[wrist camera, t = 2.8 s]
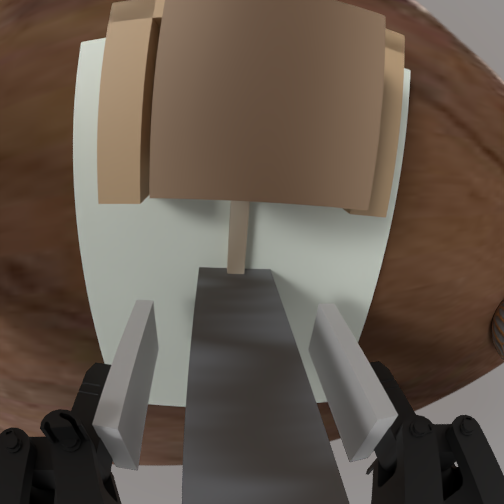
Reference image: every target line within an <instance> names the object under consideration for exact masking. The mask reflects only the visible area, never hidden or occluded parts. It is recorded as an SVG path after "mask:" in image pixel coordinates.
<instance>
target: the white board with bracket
mask: <svg viewBox="0 0 504 504" xmlns="http://www.w3.org/2000/svg"><path fill="white" fill-rule="evenodd" d="M164 3H165V0H131V1H124V2H117V3H112V8H111V13H110V18H109V23H108V29H107V34H106V38H103V39H96V40H91V41H85V42H81V48H80V54H79V62H78V70H77V79H76V90H75V103H74V123H73V173H74V193H75V207H76V218H77V228H78V237H79V245H80V252H81V259H82V266H83V272H84V278H85V283H86V288H87V294H88V299H89V303H90V308H91V313H92V317H93V321H94V326H95V330H96V334H97V338H98V341H99V345H100V349H101V352H102V356H103V359H104V363H105V364H109V365H112V362H113V359H114V357H115V354H116V351H117V348H118V346H119V343H120V340H121V338H122V335H123V332H124V330H125V327H126V325H127V322H128V320H129V317H130V315H131V312H132V310H133V307H134V305H135V302H136V300H151V301H154V311H155V321H156V329H157V338H158V345H159V351H158V356H157V360H156V365H155V370H154V375H153V380H152V385H151V391H150V396H149V402H148V404H153V405H165V406H180V407H186V396H187V382H188V369H189V357H190V346H191V336H192V326H193V316H194V307H195V298H196V289H197V280H198V272H199V267H211V268H227V255H228V237H229V219H230V203H231V201H229V200H203V199H164V198H150V192H149V180H150V136H151V117H152V101H153V89H154V78H155V68H156V59H157V50H158V42H159V35H160V28H161V21H162V15H163V9H164ZM409 90H410V70H408V69H405V68H404V35H401V34H399V33H396V32H394V31H391V30H388V29H385V67H384V86H383V100H382V112H381V122H380V132H379V140H378V149H377V156H376V164H375V171H374V177H373V184H372V190H371V196H370V202H369V208H368V211H367V210H357V209H346V208H335V207H324V206H311V205H298V204H283V203H267V202H250V206H249V219H248V231H247V244H246V257H245V269H271V272H272V275H273V278H274V281H275V284H276V286H277V289H278V292H279V295H280V298H281V301H282V304H283V307H284V309H285V312H286V315H287V318H288V321H289V324H290V327H291V330H292V333H293V336H294V338H295V341H296V344H297V347H298V350H299V353H300V356H301V359H302V362H303V365H304V368H305V371H306V374H307V377H308V380H309V382H310V385H311V388H312V391H313V394H314V397H315V400H316V403H321V402H327V399H326V396H325V393H324V391H323V388H322V385H321V383H320V380H319V377H318V375H317V372H316V369H315V367H314V364H313V361H312V359H311V356H310V353H309V351H308V348H309V344H310V340H311V336H312V332H313V327H314V323H315V319H316V314H317V310H318V305H319V304H332V303H334V304H335V305H336V307H337V309H338V310H339V312H340V314H341V315H342V317H343V319H344V320H345V322H346V324H347V325H348V327H349V329H350V330H351V332H352V334H353V336H354V337H355V339H356V341H357V342H358V341H359V338H360V335H361V332H362V329H363V326H364V323H365V320H366V317H367V314H368V311H369V307H370V304H371V301H372V297H373V294H374V290H375V287H376V283H377V280H378V276H379V272H380V269H381V265H382V261H383V257H384V253H385V249H386V244H387V240H388V236H389V231H390V227H391V222H392V217H393V212H394V207H395V202H396V196H397V191H398V185H399V179H400V173H401V166H402V159H403V152H404V144H405V136H406V127H407V116H408V105H409Z"/></svg>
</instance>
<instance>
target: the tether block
mask: <svg viewBox="0 0 504 504" xmlns="http://www.w3.org/2000/svg"><path fill="white" fill-rule="evenodd" d="M384 67H385V16H384V15H381V14H378V13H375V12H372V11H369V10H366V9H363V8H360V7H357V6H353V5H350V4H346V3H343V2H339V1H335V0H165V3H164V9H163V15H162V21H161V28H160V35H159V42H158V50H157V59H156V68H155V78H154V89H153V101H152V117H151V136H150V180H149V192H150V198H164V199H203V200H229V201H231V203H230V219H229V237H228V255H227V268H211V267H199V272H198V280H197V289H196V298H195V307H194V316H193V326H192V336H191V346H190V357H189V369H188V382H187V396H186V411H185V428H184V448H183V478H182V504H349V501H348V498H347V495H346V492H345V488H344V486H343V482H342V479H341V476H340V473H339V470H338V467H337V464H336V461H335V458H334V455H333V451H332V448H331V445H330V442H329V439H328V436H327V433H326V430H325V427H324V424H323V421H322V418H321V415H320V412H319V409H318V406H317V403H316V400H315V397H314V394H313V391H312V388H311V385H310V382H309V380H308V377H307V374H306V371H305V368H304V365H303V362H302V359H301V356H300V353H299V350H298V347H297V344H296V341H295V338H294V336H293V333H292V330H291V327H290V324H289V321H288V318H287V315H286V312H285V309H284V307H283V304H282V301H281V298H280V295H279V292H278V289H277V286H276V284H275V281H274V278H273V275H272V272H271V269H245V257H246V244H247V231H248V219H249V206H250V202H267V203H283V204H298V205H311V206H324V207H335V208H346V209H357V210H367V211H368V208H369V202H370V196H371V190H372V184H373V177H374V171H375V164H376V156H377V149H378V140H379V132H380V122H381V112H382V100H383V86H384Z"/></svg>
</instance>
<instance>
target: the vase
mask: <svg viewBox="0 0 504 504" xmlns="http://www.w3.org/2000/svg"><path fill="white" fill-rule="evenodd" d="M492 339H493V343H494V345H495V348H496V350H497V352H498V354H499V355H500V356H501V358H502V359H503V360H504V300H503V301H502V303H501V304H500V305H499V307H498V309H497V310H496V312H495V314H494V317H493V321H492Z"/></svg>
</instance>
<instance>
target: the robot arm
mask: <svg viewBox="0 0 504 504" xmlns="http://www.w3.org/2000/svg"><path fill="white" fill-rule="evenodd" d="M158 351H159V345H158V338H157V329H156V321H155V311H154V301H151V300H136V302H135V305H134V307H133V310H132V312H131V315H130V317H129V320H128V322H127V325H126V327H125V330H124V332H123V335H122V338H121V340H120V343H119V346H118V348H117V351H116V354H115V357H114V359H113V362H112V365H109V364H102V363H95V364H94V365H93V366H92V367H91V368H90V369H89V370H88V371H87V372H86V374H85V377H84V379H83V383H82V384H81V387H80V389H79V393H78V394H77V397H76V399H75V402H74V405H73V407H72V410H71V412H70V411H68V410H61V409H59V410H55V411H52V412H50V413H49V414H47V415H46V416H45V417H44V419H43V420H42V422H41V427H40V429H41V430H42V432H43V433H44V435H45V436H46V437H29V436H28V435H27V434H26V433H25V432H24V431H23V430H21V429H19V428H9V429H6V430H4V431H3V432H2V433H1V434H0V504H121V501H120V497H119V494H118V491H117V487H116V484H115V480H114V476H113V474H112V472H111V466H112V461H113V462H114V464H115V465H116V467H119V468H125V469H132V470H138V465H139V458H140V451H141V444H142V437H143V431H144V425H145V419H146V413H147V407H148V402H149V396H150V391H151V385H152V380H153V375H154V370H155V365H156V360H157V356H158ZM308 351H309V353H310V356H311V359H312V361H313V364H314V367H315V369H316V372H317V375H318V377H319V380H320V383H321V385H322V388H323V391H324V393H325V396H326V399H327V402H328V404H329V407H330V410H331V412H332V415H333V418H334V421H335V423H336V426H337V429H338V431H339V434H340V437H341V440H342V442H343V445H344V448H345V451H346V454H347V456H348V459H349V462H353V461H357V460H361V459H365V458H368V457H369V456H370V455H371V453H372V452H373V451H375V453H376V456H377V459H376V460H375V461H374V462H373V463H372V465H371V466H370V467H369V468H368V469H367V473H366V474H369V473H370V472H371V471H372V470H373V487H372V500H371V504H504V475H503V473H502V471H501V469H500V466H499V464H498V462H497V460H496V458H495V456H494V453H493V451H492V449H491V447H490V445H489V443H488V441H487V439H486V437H485V435H484V433H483V431H482V429H481V428H480V425H479V424H478V422H477V421H476V420H475V419H474V418H472V417H471V416H467V415H460V416H458V417H456V419H455V420H454V421H453V422H452V424H436V425H435V424H432V422H431V421H430V420H429V419H427V418H425V417H423V416H419V415H416V414H415V412H414V411H413V409H412V407H411V405H410V404H409V402H408V400H407V399H406V397H405V395H404V394H403V392H402V390H401V389H400V388H399V385H398V384H397V382H396V380H394V377H393V375H392V374H391V372H390V371H389V369H388V368H387V367H385V366H384V365H383V364H382V363H381V362H371V363H369V361H368V360H367V358H366V356H365V355H364V353H363V351H362V349H361V348H360V346H359V344H358V342H357V341H356V339H355V337H354V336H353V334H352V332H351V330H350V329H349V327H348V325H347V324H346V322H345V320H344V319H343V317H342V315H341V314H340V312H339V310H338V309H337V307H336V305H335V304H334V303H332V304H319V305H318V310H317V314H316V319H315V323H314V327H313V332H312V336H311V340H310V344H309V348H308ZM455 462H457V464H458V467H456V466H455V464H454V463H455Z"/></svg>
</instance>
